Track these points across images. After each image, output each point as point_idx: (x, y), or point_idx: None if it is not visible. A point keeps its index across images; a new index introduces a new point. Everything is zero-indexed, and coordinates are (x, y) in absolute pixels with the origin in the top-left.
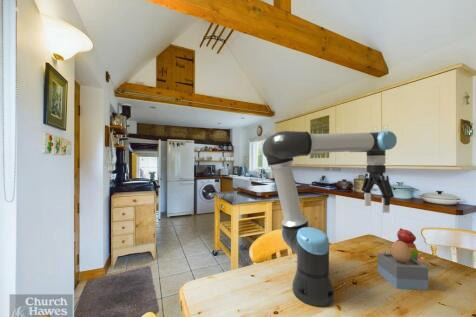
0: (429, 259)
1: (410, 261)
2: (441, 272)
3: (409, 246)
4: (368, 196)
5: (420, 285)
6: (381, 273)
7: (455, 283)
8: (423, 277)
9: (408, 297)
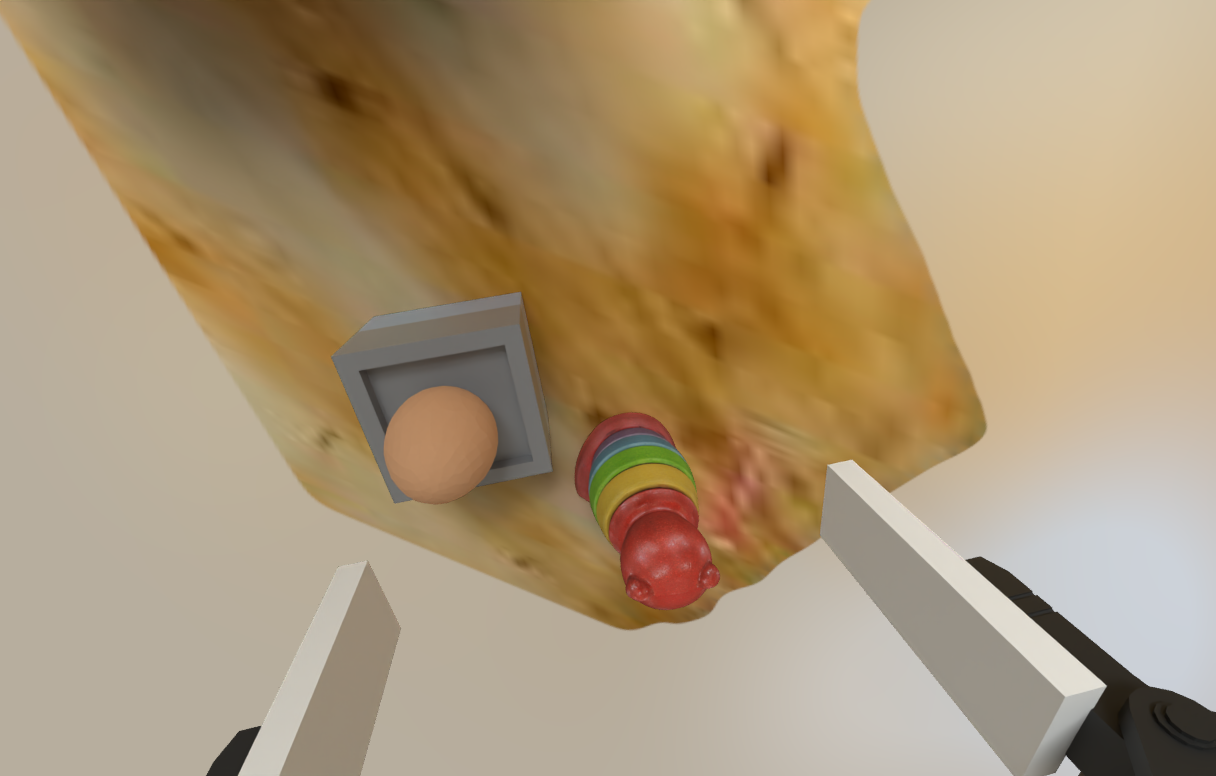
0: None
1: None
2: (597, 550)
3: (609, 527)
4: (954, 657)
5: None
6: (487, 300)
7: (517, 552)
8: None
9: (312, 334)
